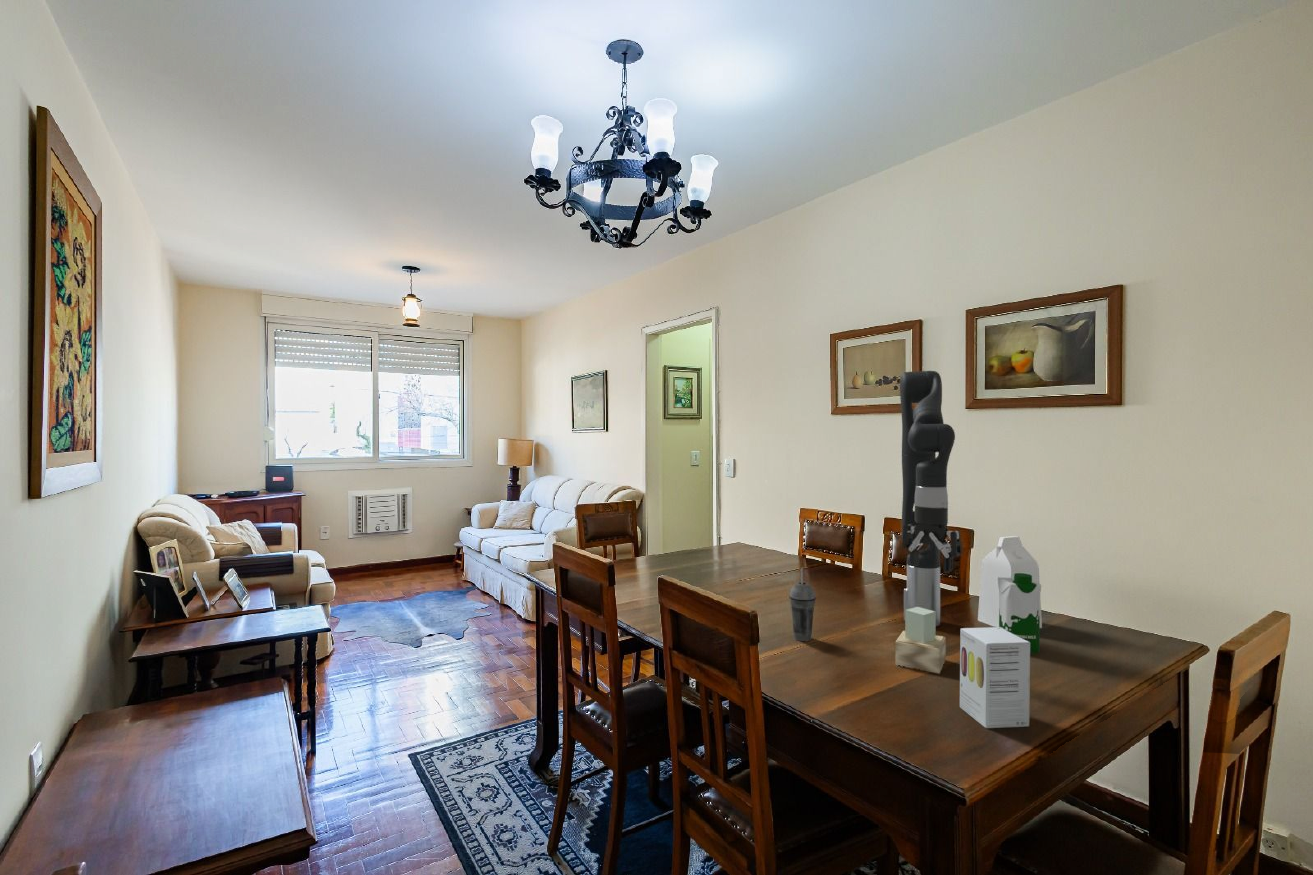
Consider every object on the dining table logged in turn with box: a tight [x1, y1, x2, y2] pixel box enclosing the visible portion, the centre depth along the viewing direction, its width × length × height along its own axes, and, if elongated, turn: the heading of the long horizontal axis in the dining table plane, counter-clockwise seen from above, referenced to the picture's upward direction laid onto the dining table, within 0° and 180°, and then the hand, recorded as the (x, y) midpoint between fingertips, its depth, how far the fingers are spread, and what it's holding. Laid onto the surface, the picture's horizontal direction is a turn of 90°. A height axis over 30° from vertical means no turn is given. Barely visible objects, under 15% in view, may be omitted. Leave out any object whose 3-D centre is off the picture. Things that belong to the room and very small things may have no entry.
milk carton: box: [998, 573, 1042, 654], centre depth 163 cm, size 9×9×20 cm
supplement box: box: [959, 626, 1031, 729], centre depth 125 cm, size 10×9×17 cm
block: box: [904, 607, 937, 644], centre depth 153 cm, size 5×5×7 cm
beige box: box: [894, 630, 947, 674], centre depth 154 cm, size 10×10×6 cm
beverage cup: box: [789, 567, 817, 642], centre depth 171 cm, size 7×7×20 cm
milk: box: [977, 535, 1043, 629], centre depth 183 cm, size 12×12×26 cm
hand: (931, 569), depth 153 cm, fingers open, 8 cm apart
